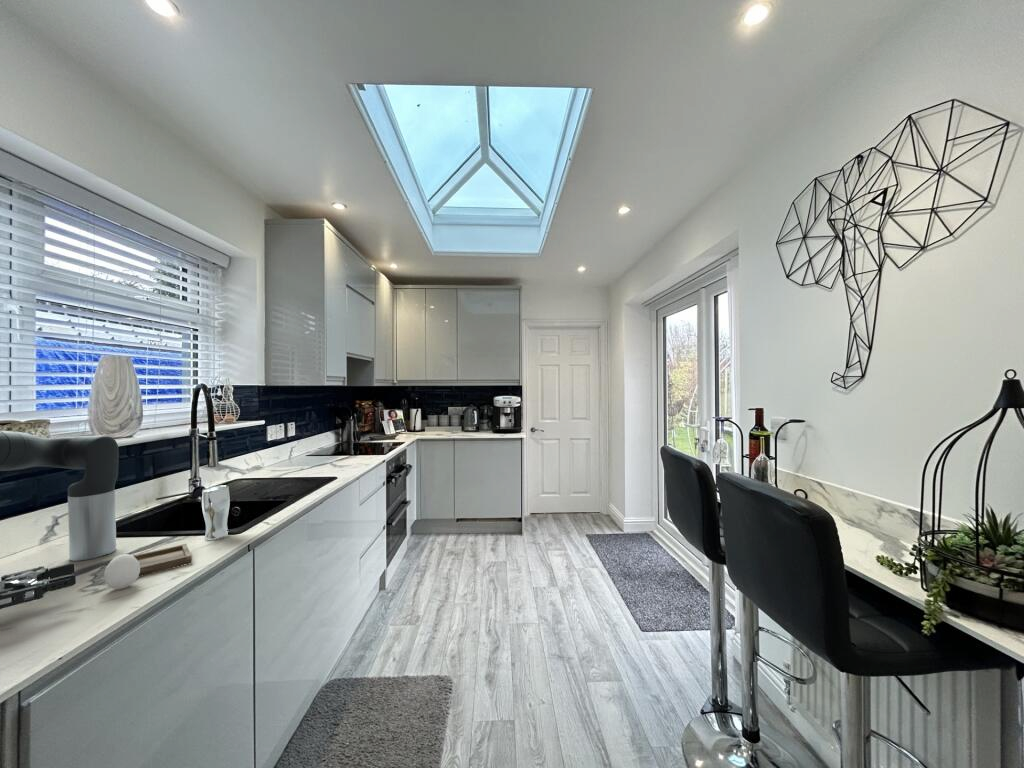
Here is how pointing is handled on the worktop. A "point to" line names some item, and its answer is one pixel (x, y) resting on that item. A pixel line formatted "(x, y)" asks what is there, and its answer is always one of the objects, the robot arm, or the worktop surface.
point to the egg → (122, 571)
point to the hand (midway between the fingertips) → (75, 573)
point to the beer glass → (215, 511)
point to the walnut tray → (163, 559)
